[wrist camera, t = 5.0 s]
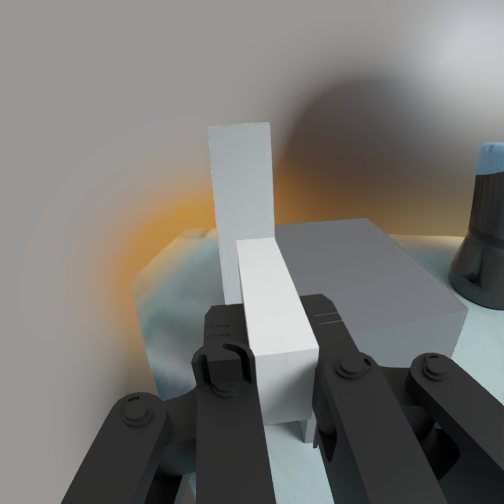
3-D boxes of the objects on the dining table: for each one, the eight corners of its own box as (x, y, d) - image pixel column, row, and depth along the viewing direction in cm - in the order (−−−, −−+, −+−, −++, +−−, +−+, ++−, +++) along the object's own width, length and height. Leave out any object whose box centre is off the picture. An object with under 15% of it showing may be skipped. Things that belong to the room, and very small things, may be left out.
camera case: (271, 313, 42) (268, 225, 37) (358, 301, 42) (366, 218, 37) (303, 443, 24) (313, 340, 19) (426, 411, 24) (468, 308, 19)
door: (232, 330, 36) (212, 122, 27) (274, 326, 37) (265, 119, 27) (238, 400, 27) (207, 127, 18) (291, 394, 27) (290, 122, 18)
